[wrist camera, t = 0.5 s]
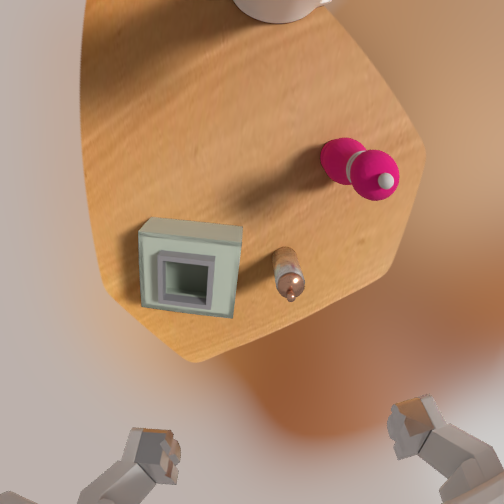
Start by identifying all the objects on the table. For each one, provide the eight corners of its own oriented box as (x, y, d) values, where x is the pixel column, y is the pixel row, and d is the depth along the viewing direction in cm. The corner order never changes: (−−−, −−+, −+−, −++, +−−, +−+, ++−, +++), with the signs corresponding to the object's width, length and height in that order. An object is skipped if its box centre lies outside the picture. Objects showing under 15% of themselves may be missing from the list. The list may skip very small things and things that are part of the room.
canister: (274, 245, 54) (280, 277, 43) (298, 248, 54) (310, 281, 44) (270, 267, 56) (275, 304, 45) (294, 270, 56) (304, 306, 45)
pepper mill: (328, 186, 50) (372, 226, 31) (309, 147, 47) (346, 166, 29) (365, 167, 48) (425, 198, 30) (347, 128, 46) (404, 138, 27)
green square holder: (151, 216, 51) (133, 235, 43) (242, 226, 52) (241, 247, 44) (151, 286, 57) (138, 313, 49) (234, 296, 58) (232, 325, 50)
